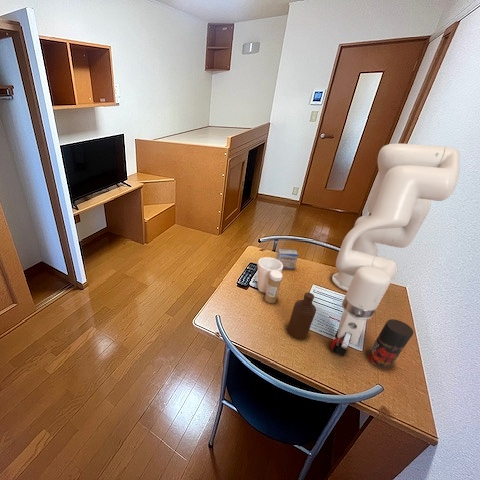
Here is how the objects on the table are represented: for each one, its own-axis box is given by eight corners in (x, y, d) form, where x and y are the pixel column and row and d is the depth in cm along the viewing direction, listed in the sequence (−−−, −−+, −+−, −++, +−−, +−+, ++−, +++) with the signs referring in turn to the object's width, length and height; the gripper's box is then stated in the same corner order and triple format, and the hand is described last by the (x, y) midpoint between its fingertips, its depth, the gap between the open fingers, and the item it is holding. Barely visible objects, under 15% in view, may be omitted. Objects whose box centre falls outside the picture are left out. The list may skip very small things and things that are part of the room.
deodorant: (362, 352, 84) (381, 320, 76) (380, 350, 84) (400, 318, 76) (377, 369, 78) (399, 337, 71) (396, 367, 79) (419, 334, 71)
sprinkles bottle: (278, 300, 105) (285, 274, 98) (271, 305, 103) (277, 279, 96) (268, 294, 108) (274, 268, 101) (261, 298, 106) (267, 272, 99)
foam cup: (252, 292, 109) (257, 267, 103) (254, 279, 117) (259, 255, 110) (276, 298, 106) (283, 272, 99) (277, 284, 113) (283, 259, 107)
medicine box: (276, 268, 122) (280, 253, 118) (274, 263, 126) (278, 248, 122) (294, 269, 121) (298, 254, 117) (291, 264, 125) (295, 249, 120)
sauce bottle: (295, 322, 95) (307, 286, 86) (311, 335, 90) (325, 298, 81) (282, 328, 93) (293, 292, 84) (298, 342, 88) (311, 304, 79)
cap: (333, 353, 84) (336, 346, 82) (328, 343, 87) (331, 336, 85) (346, 354, 83) (349, 348, 81) (341, 344, 86) (344, 338, 85)
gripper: (373, 331, 67) (350, 372, 76) (375, 293, 79) (355, 333, 88) (339, 319, 71) (321, 359, 80) (346, 284, 83) (329, 323, 92)
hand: (339, 345), depth 84 cm, fingers open, 6 cm apart
